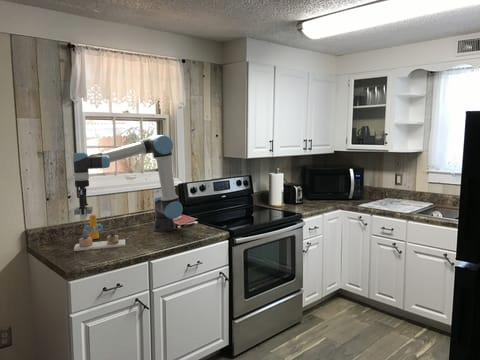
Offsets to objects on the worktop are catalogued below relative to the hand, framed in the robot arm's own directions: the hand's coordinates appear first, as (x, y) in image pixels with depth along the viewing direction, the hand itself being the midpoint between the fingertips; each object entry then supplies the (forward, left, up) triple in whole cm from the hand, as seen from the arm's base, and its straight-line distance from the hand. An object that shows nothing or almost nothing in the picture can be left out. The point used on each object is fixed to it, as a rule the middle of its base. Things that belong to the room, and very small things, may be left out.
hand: (84, 218), depth 220 cm
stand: (-15, 0, -16) cm, 22 cm away
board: (-8, 0, -17) cm, 19 cm away
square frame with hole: (0, 0, +3) cm, 3 cm away
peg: (0, 0, -16) cm, 16 cm away
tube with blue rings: (-3, -20, -17) cm, 27 cm away
